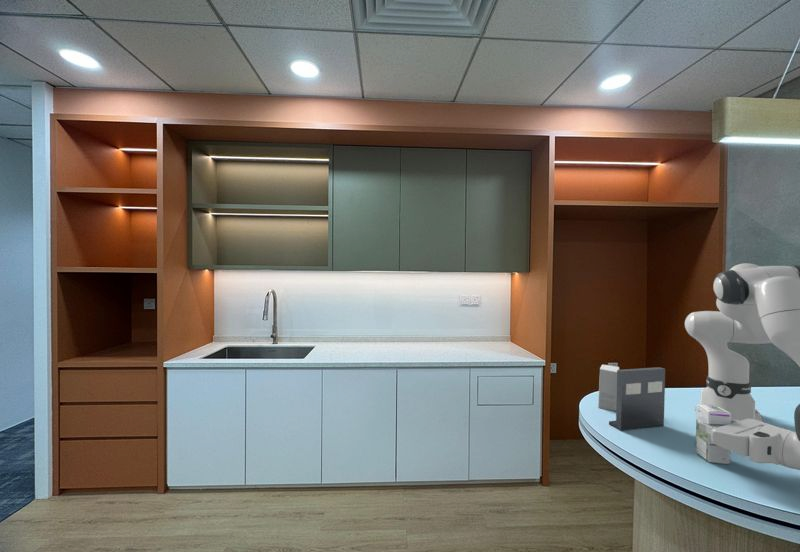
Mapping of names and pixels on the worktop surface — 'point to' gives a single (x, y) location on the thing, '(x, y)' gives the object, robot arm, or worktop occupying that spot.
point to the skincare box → (608, 387)
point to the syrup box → (703, 439)
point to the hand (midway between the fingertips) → (709, 422)
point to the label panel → (640, 398)
